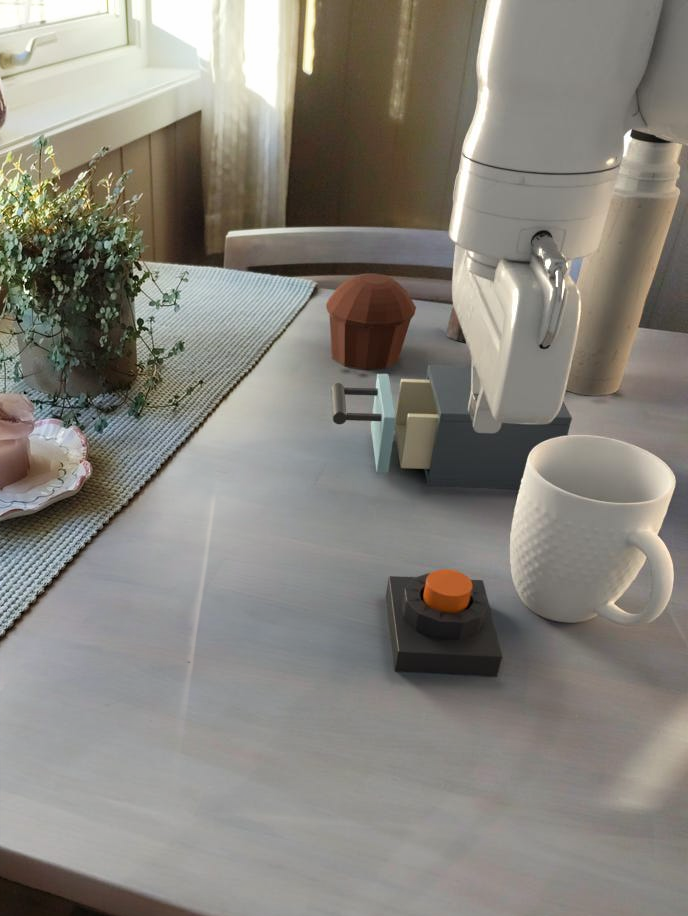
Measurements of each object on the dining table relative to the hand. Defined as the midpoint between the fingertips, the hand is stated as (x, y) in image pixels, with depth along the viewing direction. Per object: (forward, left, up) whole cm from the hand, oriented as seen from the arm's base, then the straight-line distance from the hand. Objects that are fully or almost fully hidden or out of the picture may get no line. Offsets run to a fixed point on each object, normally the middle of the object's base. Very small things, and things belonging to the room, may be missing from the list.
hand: (482, 423), depth 62 cm
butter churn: (-11, -64, -19) cm, 68 cm away
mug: (-12, -4, -19) cm, 23 cm away
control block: (0, 0, -19) cm, 19 cm away
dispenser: (-8, -30, -19) cm, 36 cm away
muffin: (+3, -57, -19) cm, 60 cm away
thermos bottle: (-24, -51, -19) cm, 60 cm away
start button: (0, 0, -15) cm, 15 cm away
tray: (0, -30, -18) cm, 35 cm away
